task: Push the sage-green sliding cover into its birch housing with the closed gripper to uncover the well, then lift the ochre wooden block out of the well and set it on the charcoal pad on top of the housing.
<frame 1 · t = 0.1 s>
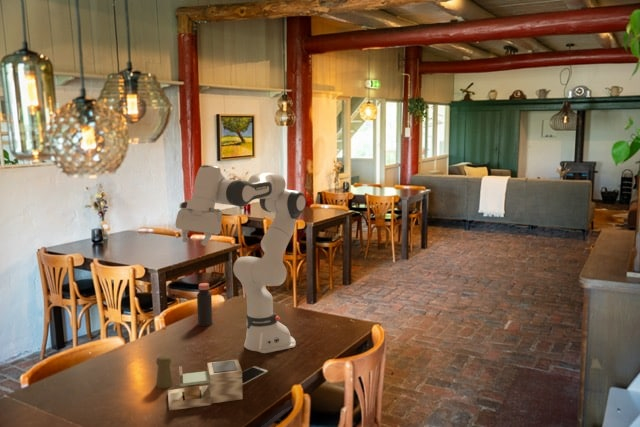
hand: (194, 243, 202), 52 cm above the table, tool tilted 20°, fingers open, 8 cm apart
smartphone: (248, 376, 212), on the table
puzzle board: (205, 397, 194), on the table
block: (192, 399, 193), resting in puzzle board
olive pepper mill: (164, 385, 204), on the table
bottle: (205, 324, 266), on the table
cover: (200, 373, 192), point 9 cm above the table, slide at 0.0 cm
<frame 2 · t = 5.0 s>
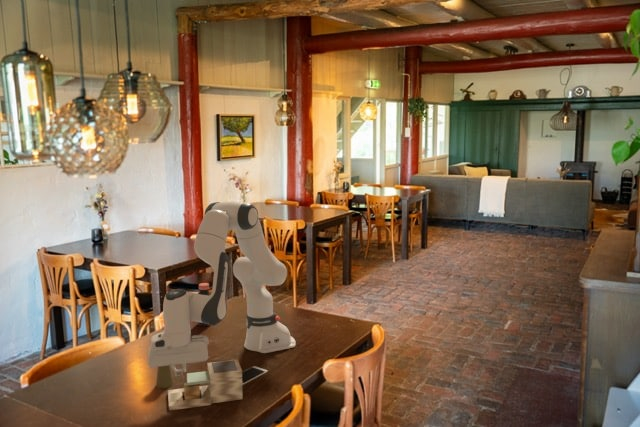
hand: (179, 375, 191), 9 cm above the table, tool pointing down, fingers closed
cover: (204, 373, 193), point 9 cm above the table, slide at 1.4 cm, touching gripper
everything else where it was.
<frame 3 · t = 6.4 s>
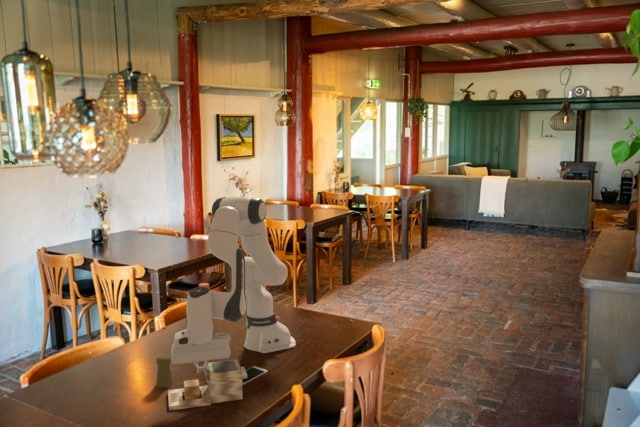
hand: (201, 372, 193), 10 cm above the table, tool pointing down, fingers closed
cover: (225, 370, 195), point 9 cm above the table, slide at 9.0 cm, touching gripper, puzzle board
everything else where it was.
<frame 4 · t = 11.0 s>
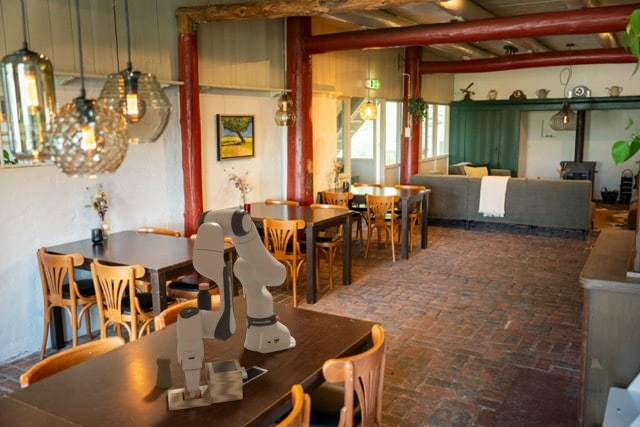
hand: (191, 391, 193), 3 cm above the table, tool pointing down, fingers closed on block, 5 cm apart
block: (192, 399, 193), resting in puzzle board, touching gripper
cover: (225, 370, 195), point 9 cm above the table, slide at 9.0 cm, touching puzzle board
everything else where it was.
when the fingers open (15 cm above the table, at t = 14.6 s): block drops 1 cm, resting on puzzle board.
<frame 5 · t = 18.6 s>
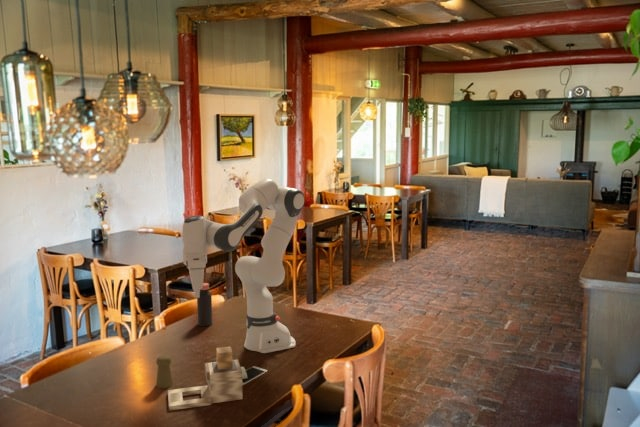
hand: (196, 293, 211), 31 cm above the table, tool pointing down, fingers open, 8 cm apart
block: (224, 366, 195), point 11 cm above the table, touching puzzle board
everything else where it was.
at the end: cover slide at 9.0 cm; block 0.0 cm from the target spot on the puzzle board, point 10.8 cm above the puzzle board's base; block tilted 0° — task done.
